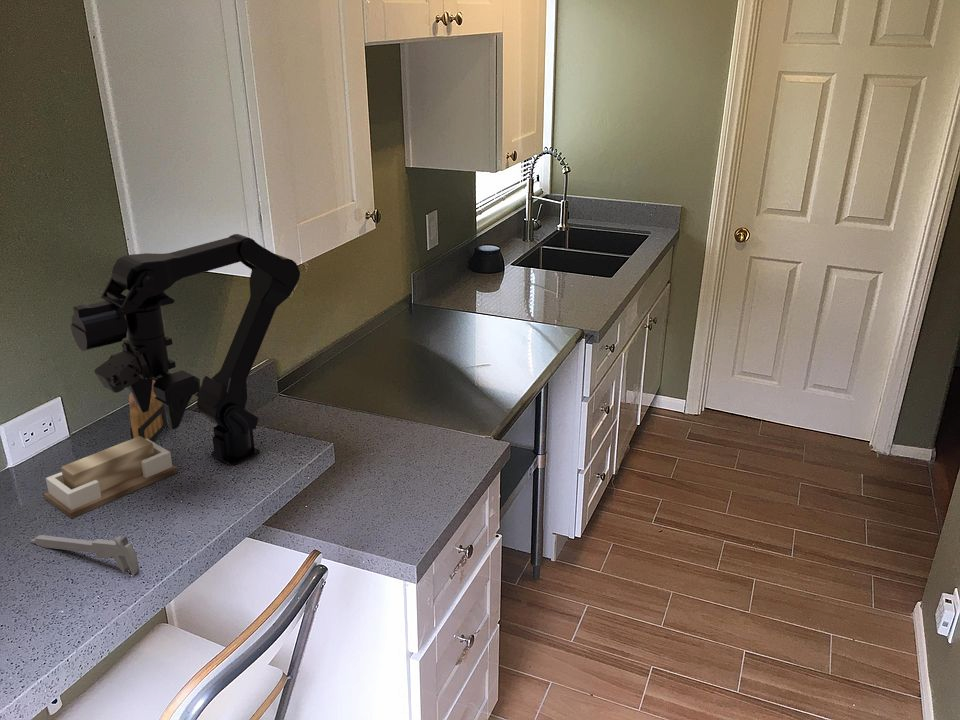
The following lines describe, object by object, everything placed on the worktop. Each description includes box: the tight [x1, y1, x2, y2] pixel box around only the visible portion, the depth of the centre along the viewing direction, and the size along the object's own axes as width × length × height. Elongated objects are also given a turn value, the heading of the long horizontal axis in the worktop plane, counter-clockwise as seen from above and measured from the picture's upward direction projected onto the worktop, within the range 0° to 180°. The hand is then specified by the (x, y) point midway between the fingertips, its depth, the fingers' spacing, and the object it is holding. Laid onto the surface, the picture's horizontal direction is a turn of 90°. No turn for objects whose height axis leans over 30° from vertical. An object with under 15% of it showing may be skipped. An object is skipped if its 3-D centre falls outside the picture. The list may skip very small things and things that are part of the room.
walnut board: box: [43, 463, 179, 519], centre depth 135 cm, size 19×9×1 cm, turn 142°
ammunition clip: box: [128, 380, 168, 443], centre depth 148 cm, size 11×2×12 cm, turn 176°
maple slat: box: [60, 436, 154, 491], centre depth 134 cm, size 14×4×5 cm, turn 143°
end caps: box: [45, 439, 173, 510], centre depth 134 cm, size 18×8×3 cm, turn 142°
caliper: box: [29, 534, 140, 576], centre depth 116 cm, size 20×1×6 cm, turn 69°
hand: (159, 419), depth 132 cm, fingers open, 9 cm apart
